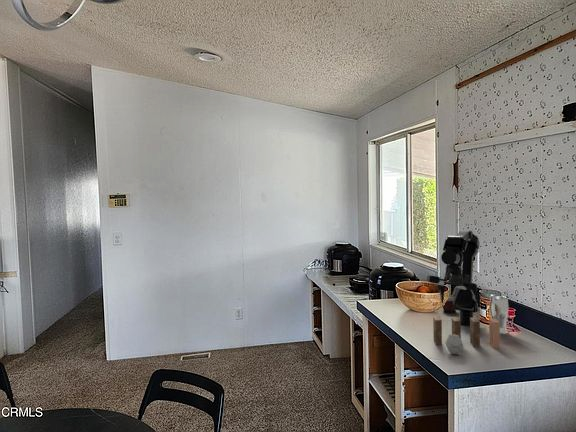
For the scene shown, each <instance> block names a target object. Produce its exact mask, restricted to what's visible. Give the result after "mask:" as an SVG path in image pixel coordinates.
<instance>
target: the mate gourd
mask: <svg viewBox="0 0 576 432" xmlns="http://www.w3.org/2000/svg"><path fill="white" fill-rule="evenodd" d="M456 288H458V286H455V287H454V289H453V291H452V294H449V295H450V296H449V298H448V300H447V302H446V303H445V305H444V306H443V305H442V309H443V311H442V312H443V313H449V314H452V315H453V313H457V310H456V309H455V305H453V302H454V296H455V290H456Z"/></svg>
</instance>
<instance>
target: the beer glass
mask: <svg viewBox="0 0 576 432" xmlns="http://www.w3.org/2000/svg"><path fill="white" fill-rule="evenodd" d="M489 312H490V318H496V319H497V320H498V321H499V322H500V335H502V334H503V335H507V334H508V330H507V320H508V316H509V315H508V314H509V300H508V297H506V296H503V295H490V299H489Z"/></svg>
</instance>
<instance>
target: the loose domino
mask: <svg viewBox="0 0 576 432" xmlns="http://www.w3.org/2000/svg"><path fill="white" fill-rule="evenodd" d="M488 324H489V325H488V334H489V335H488V342H489V345H490V346H491V347H492V348H493V349H500V347H501V345H500V343H501V342H500V341H501V339H500V338H501V337H500V335H501V334H500V322H499V321H498V320H497V319H496V318H491V317H490V318H488Z"/></svg>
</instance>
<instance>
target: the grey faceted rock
mask: <svg viewBox="0 0 576 432" xmlns="http://www.w3.org/2000/svg"><path fill="white" fill-rule="evenodd" d="M445 346H446V348H447V350H448V352H449V353H450V354H452V355H459V354H460V353H462V351H463V347H464V343H463V342H462V338H461V339H460V338H459V335H455V334H452V333H451V334H449V335H448V337H447V338H446V342H445Z"/></svg>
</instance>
